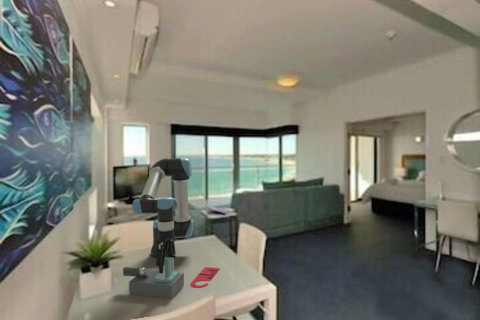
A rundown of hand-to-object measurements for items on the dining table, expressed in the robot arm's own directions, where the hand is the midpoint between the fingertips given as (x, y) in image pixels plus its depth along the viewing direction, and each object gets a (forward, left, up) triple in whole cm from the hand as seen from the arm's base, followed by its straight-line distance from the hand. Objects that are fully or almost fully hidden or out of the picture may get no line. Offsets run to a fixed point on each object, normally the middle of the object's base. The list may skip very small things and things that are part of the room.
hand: (166, 274), depth 137 cm
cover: (0, 0, -1) cm, 1 cm away
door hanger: (-17, +14, -8) cm, 23 cm away
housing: (0, -5, -7) cm, 9 cm away
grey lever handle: (+2, -16, -1) cm, 16 cm away
